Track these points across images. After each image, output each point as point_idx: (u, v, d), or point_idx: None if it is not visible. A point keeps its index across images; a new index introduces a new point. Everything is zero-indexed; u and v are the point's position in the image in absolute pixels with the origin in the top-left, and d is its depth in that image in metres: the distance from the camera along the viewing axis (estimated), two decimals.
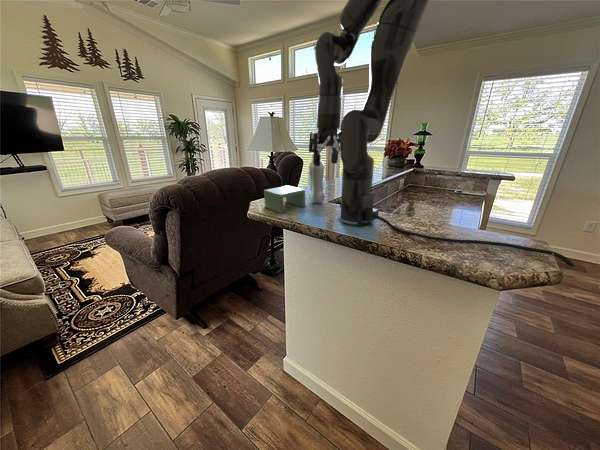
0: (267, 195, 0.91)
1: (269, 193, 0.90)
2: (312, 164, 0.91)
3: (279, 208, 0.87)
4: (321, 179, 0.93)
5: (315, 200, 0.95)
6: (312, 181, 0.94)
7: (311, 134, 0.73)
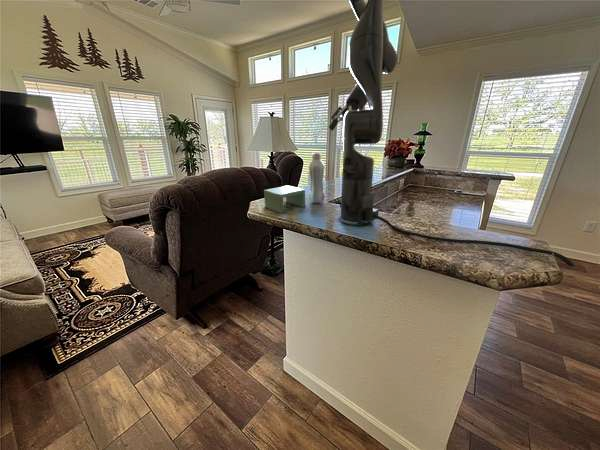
0: (267, 195, 0.91)
1: (269, 193, 0.90)
2: (312, 164, 0.91)
3: (279, 208, 0.87)
4: (321, 179, 0.93)
5: (315, 200, 0.95)
6: (312, 181, 0.93)
7: None
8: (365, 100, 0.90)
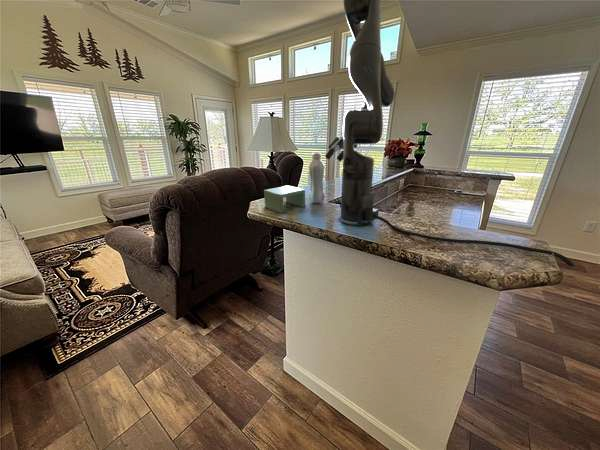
0: (267, 195, 0.91)
1: (269, 193, 0.90)
2: (312, 164, 0.91)
3: (279, 208, 0.87)
4: (321, 179, 0.93)
5: (315, 200, 0.95)
6: (312, 181, 0.94)
7: None
8: None
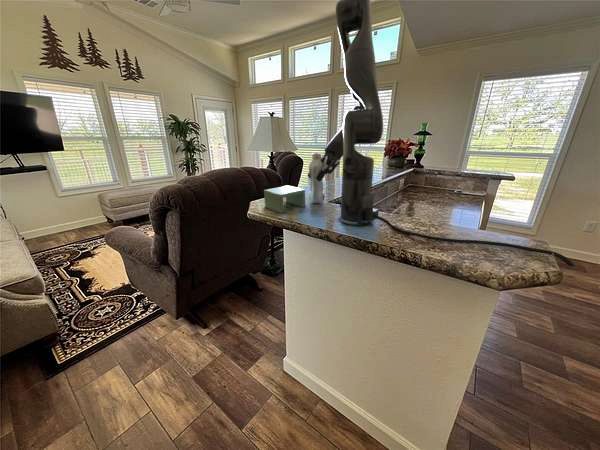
0: (267, 195, 0.91)
1: (269, 193, 0.90)
2: (312, 164, 0.91)
3: (279, 208, 0.87)
4: None
5: (315, 200, 0.95)
6: (312, 181, 0.93)
7: None
8: (342, 151, 0.92)
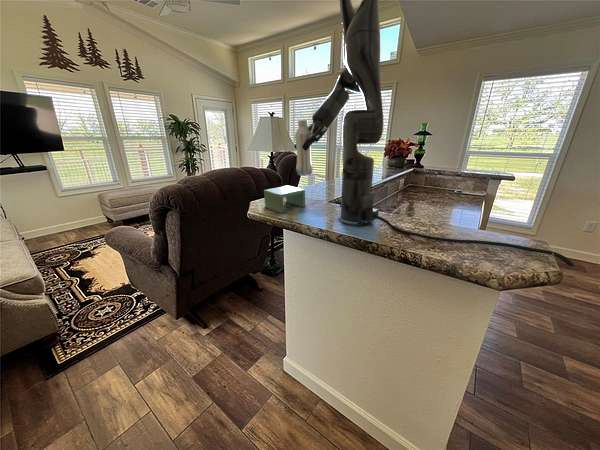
0: (267, 195, 0.91)
1: (269, 193, 0.90)
2: (298, 132, 0.85)
3: (279, 208, 0.87)
4: (308, 149, 0.87)
5: (302, 172, 0.89)
6: (298, 151, 0.88)
7: None
8: (330, 118, 0.86)
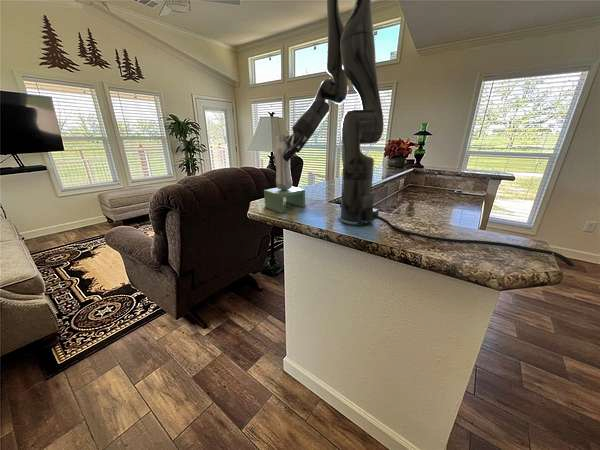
0: (267, 195, 0.91)
1: (269, 193, 0.90)
2: (276, 147, 0.84)
3: (279, 208, 0.87)
4: (287, 163, 0.87)
5: (281, 186, 0.89)
6: (277, 166, 0.87)
7: None
8: (310, 130, 0.85)
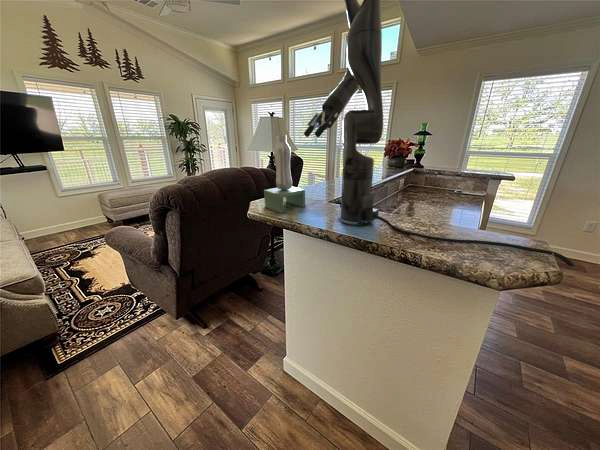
0: (267, 195, 0.91)
1: (269, 193, 0.90)
2: (276, 147, 0.84)
3: (279, 208, 0.87)
4: (287, 163, 0.86)
5: (281, 186, 0.89)
6: (277, 166, 0.87)
7: None
8: (340, 107, 0.87)
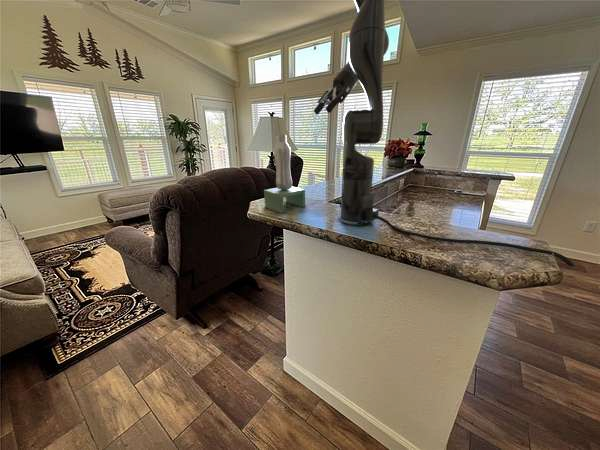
0: (267, 195, 0.91)
1: (269, 193, 0.90)
2: (276, 147, 0.84)
3: (279, 208, 0.87)
4: (287, 163, 0.86)
5: (281, 186, 0.89)
6: (277, 166, 0.87)
7: None
8: (351, 82, 0.85)
